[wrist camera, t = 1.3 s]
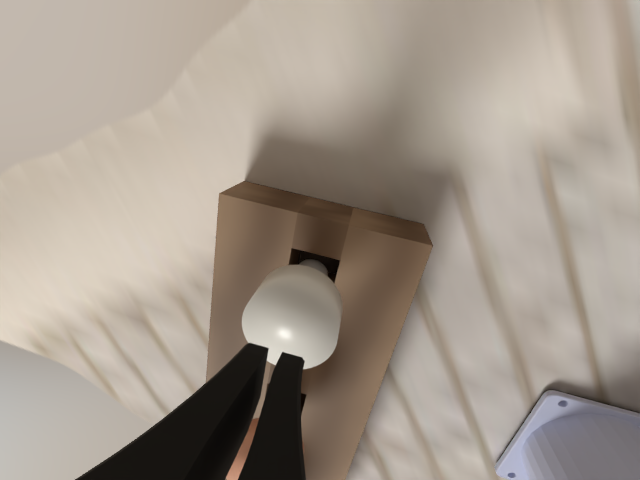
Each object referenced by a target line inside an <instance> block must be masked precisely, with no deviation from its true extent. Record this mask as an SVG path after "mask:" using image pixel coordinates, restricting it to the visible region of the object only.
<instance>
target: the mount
mask: <svg viewBox="0 0 640 480" xmlns="http://www.w3.org/2000/svg"><path fill="white" fill-rule="evenodd" d="M432 247H433V245H432V242H431V240H430V238H429V236H428V233H427V231H426V229H425V226H424V224H421V223H417V222H413V221H408V220H404V219H400V218H396V217H392V216H387V215H383V214H379V213H375V212H371V211H367V210H362V209H358V208H354V207H350V206H346V205H342V204H337V203H333V202H329V201H325V200H321V199H316V198H312V197H308V196H304V195H300V194H296V193H291V192H287V191H283V190H279V189H275V188H271V187H266V186H262V185H258V184H254V183H250V182H245V181H243V182H241V183H239V184H237V185H235V186H233V187H231V188H229V189H227V190H225V191H223V192H221V193H219V203H218V217H217V231H216V246H215V260H214V274H213V288H212V303H211V317H210V331H209V345H208V360H207V374H206V382H208V381H209V380H210V379H211V378H212V377H213V376H214V375H215V374H217V373H218V372H219V371H220V370H221V369H222V368H223V367H224V366H225V365H226V364H227V363H228V362H229V361H230V360H231V359H232V358H233V357H234V356H235V355H236V354H237V353H238V352H239V351H240V350H241V349H242V348H243V347H244V346H245V345H246V344H248V342H247V340H246V338H245V335H244V333H243V329H242V316H243V312H244V309H245V307H246V305H247V304H248V302H249V301H250V299H251V298H252V296H253V295H254V293H255V292H256V290H257V289H258V287H259V286H260V285H261V283H262V282H263V280H264V279H265V278H266V276H267V275H268V274H270V273H271V272H272V271H274V270H275V269H278V268H280V267H283V266H287V265H299V264H298V259H299V254H300V250H302V251H306V252H310V253H314V254H318V255H322V256H326V257H330V258H334V259H337V260H340V263H339V267H338V271H337V274H334V273H330V272H328V277H329V278H330V279H331V280H332V281H333V283H334V284H335V285H336V287H337V288H338V290H339V292H340V294H341V298H342V303H343V311H342V317H341V323H340V329H339V334H338V340H337V345H336V347H335V350H334V351H333V353H332V354H331V356H330V357H329V358H328V359H327V360H326V361H324V362H323V363H321V364H319V365H317V366H315V367H312V368H308V369H303V373H302V382H301V428H302V440H303V443H304V466H305V475H306V480H345V479H346V476H347V473H348V471H349V468H350V465H351V463H352V460H353V457H354V455H355V452H356V449H357V447H358V444H359V441H360V439H361V436H362V433H363V431H364V428H365V425H366V423H367V420H368V417H369V415H370V412H371V409H372V407H373V404H374V401H375V399H376V396H377V393H378V391H379V388H380V385H381V383H382V380H383V377H384V375H385V372H386V369H387V367H388V364H389V361H390V359H391V356H392V354H393V351H394V348H395V346H396V343H397V340H398V338H399V335H400V332H401V330H402V327H403V324H404V322H405V319H406V316H407V314H408V311H409V308H410V306H411V303H412V300H413V298H414V295H415V292H416V290H417V287H418V284H419V282H420V279H421V276H422V274H423V271H424V268H425V266H426V263H427V260H428V258H429V255H430V252H431V250H432ZM275 366H276V365H274V364H272V363H270V362H268V361H267V362H266V367H265V373H264V379H263V385H262V391H261V397H260V399H259V402H258V405H257V408H256V411H255V413H254V416H253V419H255V418H259V417H260V414H261V410H262V407H263V403H264V400H265V397H266V393H267V390H268V386H269V383H270V380H271V376H272V373H273V370H274V368H275ZM225 480H227V479H225Z"/></svg>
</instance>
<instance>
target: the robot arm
mask: <svg viewBox="0 0 640 480" xmlns="http://www.w3.org/2000/svg"><path fill="white" fill-rule="evenodd" d="M268 350H269V348H267V347H263V346H260V345H256V344H253V343H248V344H246V345H245V346H244V347H243V348H242V349H241V350H240V351H239V352H238V353H237V354H236V355H235V356H234V357H233V358H232V359H231V360H230V361H229V362H228V363H227V364H226V365H225V366H224V367H223V368H222V369H221V370H220V371H219V372H218V373H217V374H215V375H214V376H213V377H212V378H211V379H210V380H209V381H208V382H206V383H205V384H204V385H203V386H202V387H201V388H200V389H199V390H197V391H196V392H195V393H194V394H193V395H192V396H190V397H189V398H188V399H187V400H186V401H184V402H183V403H182V404H181V405H179V406H178V407H177V408H176V409H174V410H173V411H172V412H171V413H169V414H168V415H167V416H166V417H164V418H163V419H162V420H161V421H159V422H158V423H157V424H155V425H154V426H153V427H151V428H150V429H149V430H148V431H146V432H145V433H144V434H142V435H141V436H139V437H138V438H137V439H135V440H134V441H132V442H131V443H129V444H128V445H127V446H125V447H124V448H122V449H121V450H120V451H118V452H117V453H115V454H114V455H112V456H111V457H109V458H108V459H106V460H105V461H103V462H102V463H100V464H99V465H97V466H95V467H94V468H92V469H91V470H89V471H88V472H86V473H85V474H83V475H82V476H80V477H79V478H77V479H75V480H225V479H226V477H227V474H228V472H229V470H230V468H231V466H232V464H233V462H234V460H235V458H236V456H237V453H238V451H239V449H240V447H241V445H242V443H243V441H244V439H245V436H246V434H247V432H248V430H249V427H250V424H251V422H252V419H253V416H254V413H255V411H256V408H257V405H258V402H259V399H260V397H261V391H262V385H263V379H264V373H265V367H266V362H267V356H268ZM304 363H305V361H304V359H303V358H302V357H299V356H296V355H292V354H288V353H285V352H282V353H281V355H280V357H279V359H278V361H277V364H276V366H275V368H274V370H273V373H272V376H271V380H270V383H269V386H268V390H267V393H266V397H265V400H264V403H263V407H262V410H261V414H260V417H259V420H258V424H257V427H256V431H255V434H254V437H253V441H252V444H251V446H250V449H249V452H248V455H247V458H246V461H245V463H244V466H243V468H242V470H241V473H240V475H239V478H238V480H306V475H305V466H304V455H303V444H302V428H301V382H302V373H303V367H304ZM562 400H563V401H562ZM494 468H495V471H496V474H497V475H498V476H500V477H503V478H506V479H510V480H640V413H636V412H632V411H629V410H625V409H621V408H618V407H614V406H610V405H607V404H603V403H599V402H596V401H592V400H588V399H585V398H581V397H577V396H573V395H570V394H566V393H562V392H559V391H554V390H549V391H546V392H545V393H544V394H543V395H542V396H541V398H540V399H539V401H538V402H537V404H536V405H535V407H534V408H533V410H532V411H531V413H530V414H529V416H528V417H527V419H526V420H525V422H524V423H523V425H522V426H521V428H520V429H519V431H518V432H517V434H516V435H515V437H514V438H513V440H512V441H511V443H510V444H509V446H508V447H507V449H506V450H505V452H504V453H503V455H502V456H501V458H500V459H499V461H498V462H497V463H496V465H495V467H494Z"/></svg>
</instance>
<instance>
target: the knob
mask: <svg viewBox="0 0 640 480" xmlns="http://www.w3.org/2000/svg"><path fill="white" fill-rule="evenodd" d="M342 311H343V303H342V298H341V294H340V292H339V290H338V288H337V287H336V285H335V284H334V283H333V281H332V280H331V279H330V278H329V277H328V272H327V269H326V267H325V266H324V265H323V264H322V263H321V262H320V261H318V260H315V259H307V260H304V261H302V262H301V263H300V264H299V265H287V266H283V267H280V268H278V269H275V270H274V271H272V272H271V273H270V274H268V275H267V276H266V278H265V279H264V280H263V282H262V283H261V285H260V286H259V287H258V289H257V290H256V292H255V293H254V295H253V296H252V298H251V299H250V301H249V302H248V304H247V305H246V307H245V309H244V312H243V316H242V329H243V333H244V335H245V338H246V340H247V342H248V343H253V344H256V345H260V346H263V347H267V348H269V350H268V356H267V361H268V362H270V363H272V364H274V365H276V364H277V361H278V359H279V357H280V355H281V353H282V352H285V353H288V354H292V355H296V356H299V357H302V358H303V359H304V361H305V363H304V367H303V369H308V368H312V367H315V366H317V365H319V364H321V363H323V362H324V361H326V360H327V359H328V358H329V357H330V356H331V354H332V353H333V351H334V350H335V347H336V345H337V340H338V334H339V329H340V323H341V317H342Z"/></svg>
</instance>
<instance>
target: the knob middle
mask: <svg viewBox="0 0 640 480" xmlns="http://www.w3.org/2000/svg"><path fill="white" fill-rule="evenodd" d="M258 420H259V418H255V419H252V422H251V424H250V427H249V430H248V432H247V434H246V436H245V439H244V441H243V443H242V445H241V447H240V449H239V451H238V453H237V456H236V458H235V460H234V462H233V464H232V466H231V468H230V470H229V472H228V474H227V477H226V479H227V480H238V478H239V475H240V473H241V470H242V468H243V466H244V463H245V461H246V458H247V455H248V452H249V449H250V446H251V444H252V441H253V437H254V434H255V431H256V427H257V424H258ZM302 444H303V455H304V443H303V440H302Z"/></svg>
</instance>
